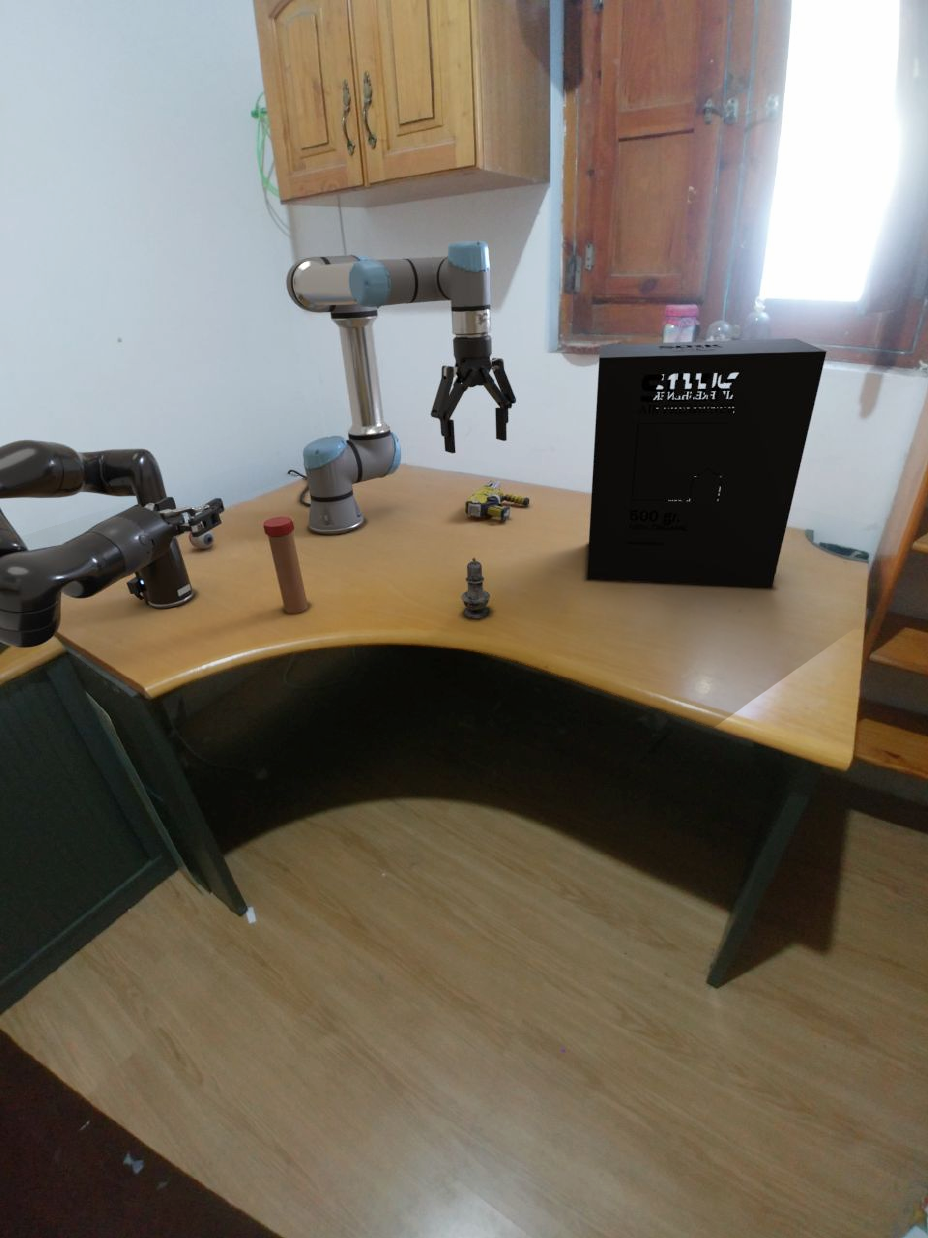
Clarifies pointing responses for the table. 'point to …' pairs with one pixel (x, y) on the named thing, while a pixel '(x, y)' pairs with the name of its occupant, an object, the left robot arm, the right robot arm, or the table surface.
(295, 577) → the jar
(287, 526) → the lid
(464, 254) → the right robot arm
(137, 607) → the table surface
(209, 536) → the eyeball
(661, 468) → the cardboard box
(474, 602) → the dark grey tiered figure
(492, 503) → the toy gun
